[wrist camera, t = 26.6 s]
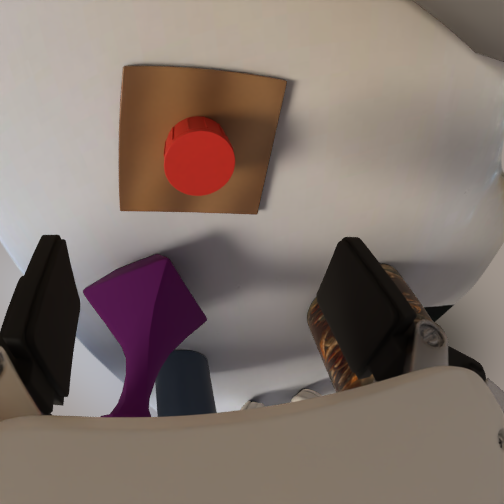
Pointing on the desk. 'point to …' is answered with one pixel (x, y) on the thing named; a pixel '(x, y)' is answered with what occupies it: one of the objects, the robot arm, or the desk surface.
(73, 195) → the desk surface
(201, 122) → the cap
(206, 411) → the water bottle
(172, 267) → the perfume bottle
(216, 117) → the coaster
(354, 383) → the jar
